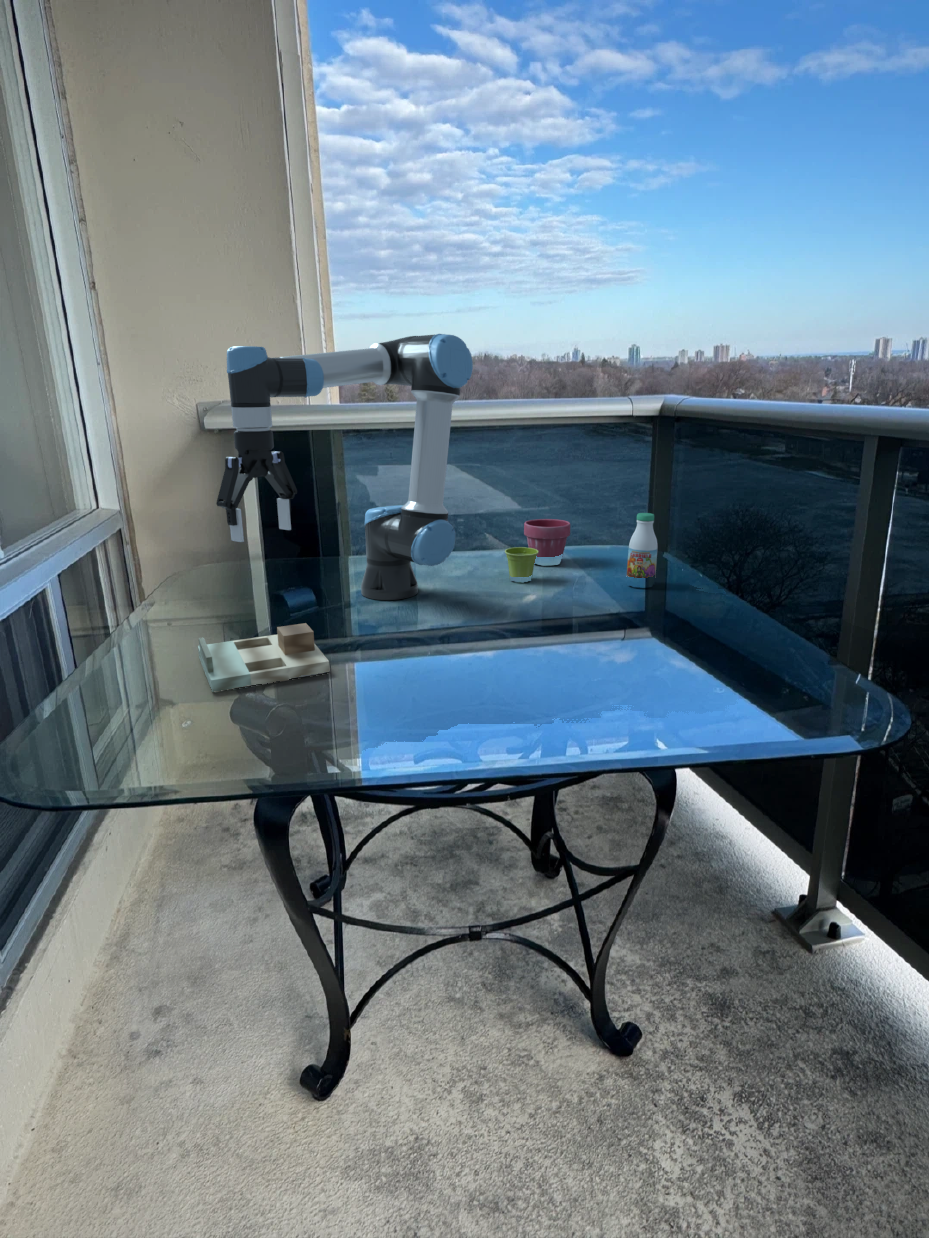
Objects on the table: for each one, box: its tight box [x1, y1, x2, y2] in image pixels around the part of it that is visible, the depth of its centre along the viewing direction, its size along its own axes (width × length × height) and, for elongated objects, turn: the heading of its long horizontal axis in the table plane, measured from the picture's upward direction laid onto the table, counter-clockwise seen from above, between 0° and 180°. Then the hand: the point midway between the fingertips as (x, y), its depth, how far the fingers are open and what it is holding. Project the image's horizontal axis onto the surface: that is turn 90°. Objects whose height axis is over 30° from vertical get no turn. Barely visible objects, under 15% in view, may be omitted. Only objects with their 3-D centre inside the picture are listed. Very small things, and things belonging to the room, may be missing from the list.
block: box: [276, 622, 315, 655], centre depth 149 cm, size 6×6×4 cm
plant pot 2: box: [523, 518, 571, 557], centre depth 226 cm, size 14×14×13 cm
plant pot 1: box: [504, 546, 538, 577], centre depth 207 cm, size 9×9×9 cm
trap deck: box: [197, 634, 331, 693], centre depth 147 cm, size 22×20×6 cm
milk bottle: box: [626, 512, 658, 578], centre depth 201 cm, size 8×8×20 cm
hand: (262, 535), depth 152 cm, fingers open, 13 cm apart
